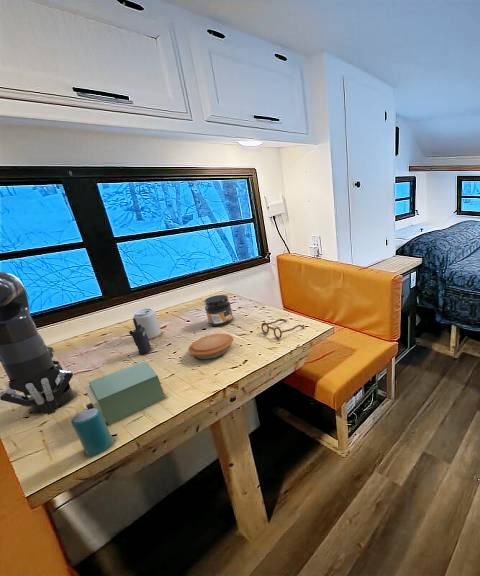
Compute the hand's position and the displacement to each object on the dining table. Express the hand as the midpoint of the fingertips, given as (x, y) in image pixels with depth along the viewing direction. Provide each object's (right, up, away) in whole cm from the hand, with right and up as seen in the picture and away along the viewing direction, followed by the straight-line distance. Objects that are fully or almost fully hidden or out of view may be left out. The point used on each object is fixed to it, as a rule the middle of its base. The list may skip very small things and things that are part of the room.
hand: (51, 412), depth 79 cm
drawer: (+8, -2, +12) cm, 15 cm away
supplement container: (+10, +16, +65) cm, 67 cm away
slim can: (+14, -8, -2) cm, 17 cm away
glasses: (+42, +13, +55) cm, 71 cm away
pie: (+20, +7, +40) cm, 45 cm away
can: (-15, +11, +53) cm, 56 cm away
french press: (-15, -3, +14) cm, 20 cm away
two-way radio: (-8, +7, +41) cm, 42 cm away
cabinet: (+10, -2, +14) cm, 17 cm away
